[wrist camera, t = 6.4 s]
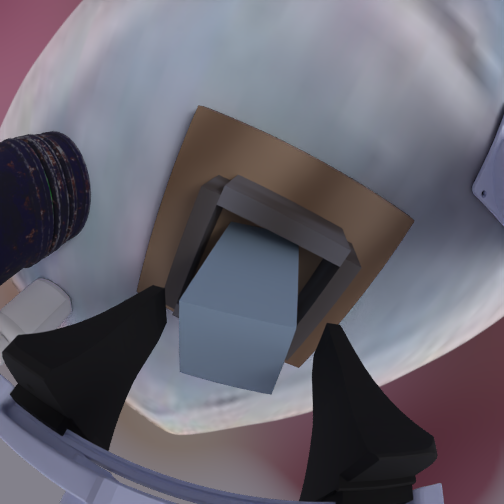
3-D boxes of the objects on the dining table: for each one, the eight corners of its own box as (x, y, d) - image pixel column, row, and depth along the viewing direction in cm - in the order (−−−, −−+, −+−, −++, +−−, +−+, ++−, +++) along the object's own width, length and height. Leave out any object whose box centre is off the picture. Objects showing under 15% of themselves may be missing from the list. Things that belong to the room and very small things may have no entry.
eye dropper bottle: (43, 264, 22) (-36, 331, 12) (77, 303, 24) (5, 383, 13) (36, 284, 24) (-32, 347, 13) (67, 320, 25) (5, 392, 15)
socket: (408, 215, 15) (435, 240, 12) (299, 359, 22) (297, 397, 18) (203, 106, 14) (176, 102, 11) (142, 284, 21) (117, 314, 17)
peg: (298, 236, 16) (296, 328, 9) (283, 292, 18) (271, 394, 11) (231, 221, 16) (179, 300, 9) (223, 278, 18) (179, 372, 11)
